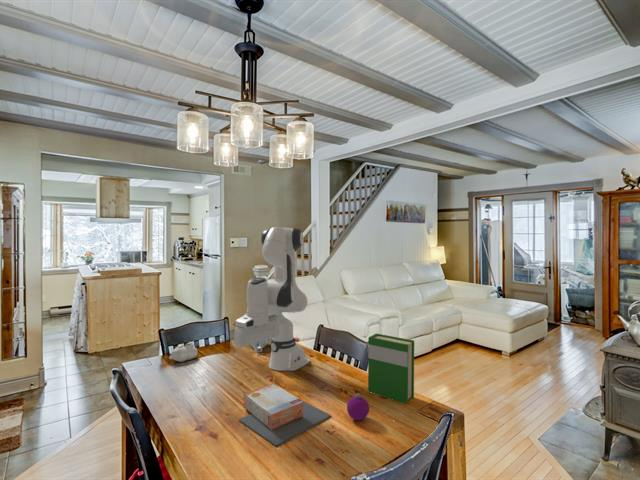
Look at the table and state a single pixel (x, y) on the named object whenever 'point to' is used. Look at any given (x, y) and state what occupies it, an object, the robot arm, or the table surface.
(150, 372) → the table surface
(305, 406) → the mat
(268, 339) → the chinaware
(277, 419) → the cracker box
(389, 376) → the hardback book
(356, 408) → the christmas ornament
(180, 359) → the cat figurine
